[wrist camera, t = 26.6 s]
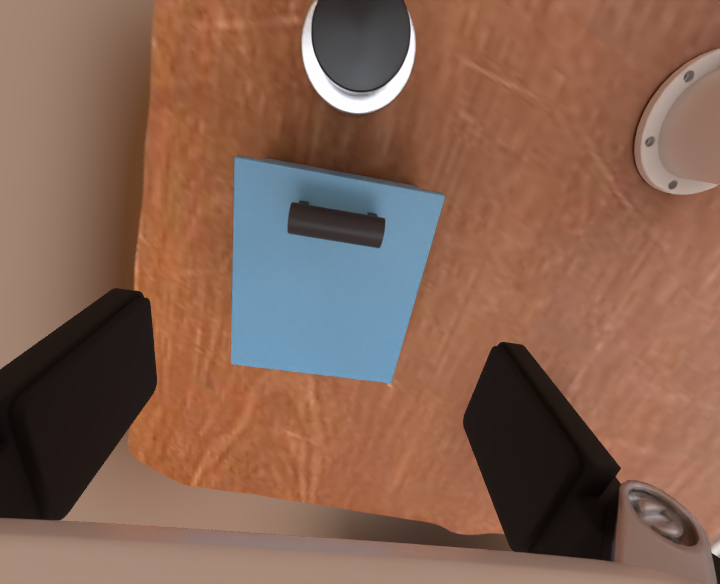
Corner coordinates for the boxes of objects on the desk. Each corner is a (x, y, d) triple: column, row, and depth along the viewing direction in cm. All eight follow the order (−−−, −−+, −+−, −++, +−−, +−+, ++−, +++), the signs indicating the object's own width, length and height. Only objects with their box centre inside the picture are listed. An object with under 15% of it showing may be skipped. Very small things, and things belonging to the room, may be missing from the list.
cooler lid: (238, 155, 25) (211, 166, 20) (442, 192, 26) (463, 211, 21) (233, 357, 33) (213, 400, 28) (390, 376, 34) (397, 420, 29)
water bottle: (323, 24, 29) (298, -76, 14) (397, 41, 30) (447, -38, 15) (313, 109, 32) (285, 99, 17) (382, 123, 33) (411, 124, 18)
